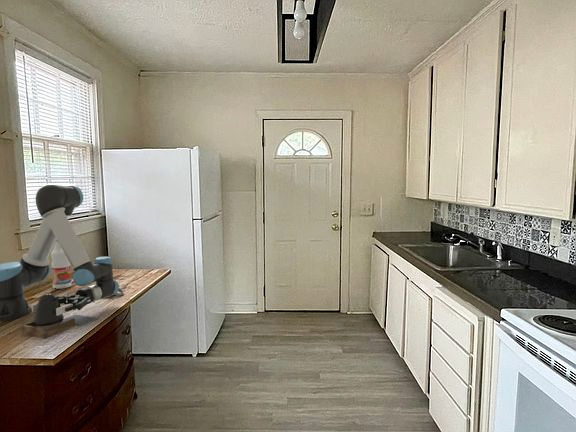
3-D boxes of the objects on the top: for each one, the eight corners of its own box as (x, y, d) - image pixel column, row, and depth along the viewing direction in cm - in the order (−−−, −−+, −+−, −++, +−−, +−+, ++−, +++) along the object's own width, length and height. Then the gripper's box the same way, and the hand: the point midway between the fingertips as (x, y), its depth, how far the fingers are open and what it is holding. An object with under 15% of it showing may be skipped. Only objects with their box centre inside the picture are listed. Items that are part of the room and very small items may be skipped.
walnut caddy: (21, 333, 150) (21, 325, 149) (51, 322, 162) (51, 314, 161) (46, 338, 145) (45, 329, 145) (75, 326, 157) (74, 318, 157)
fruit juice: (63, 284, 224) (61, 237, 221) (75, 285, 220) (72, 238, 218) (48, 288, 215) (45, 239, 212) (60, 289, 212) (57, 240, 209)
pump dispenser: (50, 335, 148) (48, 298, 146) (28, 333, 150) (25, 296, 149) (70, 326, 158) (68, 290, 156) (49, 324, 160) (47, 289, 158)
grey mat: (57, 322, 162) (57, 321, 162) (75, 315, 170) (75, 314, 170) (80, 326, 158) (80, 325, 157) (97, 318, 166) (97, 317, 166)
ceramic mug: (99, 298, 196) (99, 283, 195) (104, 293, 204) (104, 279, 203) (121, 297, 197) (120, 283, 197) (125, 293, 205) (125, 279, 205)
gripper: (110, 306, 167) (68, 323, 147) (68, 300, 175) (23, 315, 155) (109, 289, 166) (67, 304, 147) (67, 284, 175) (21, 298, 155)
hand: (44, 310), depth 151 cm, fingers open, 13 cm apart
